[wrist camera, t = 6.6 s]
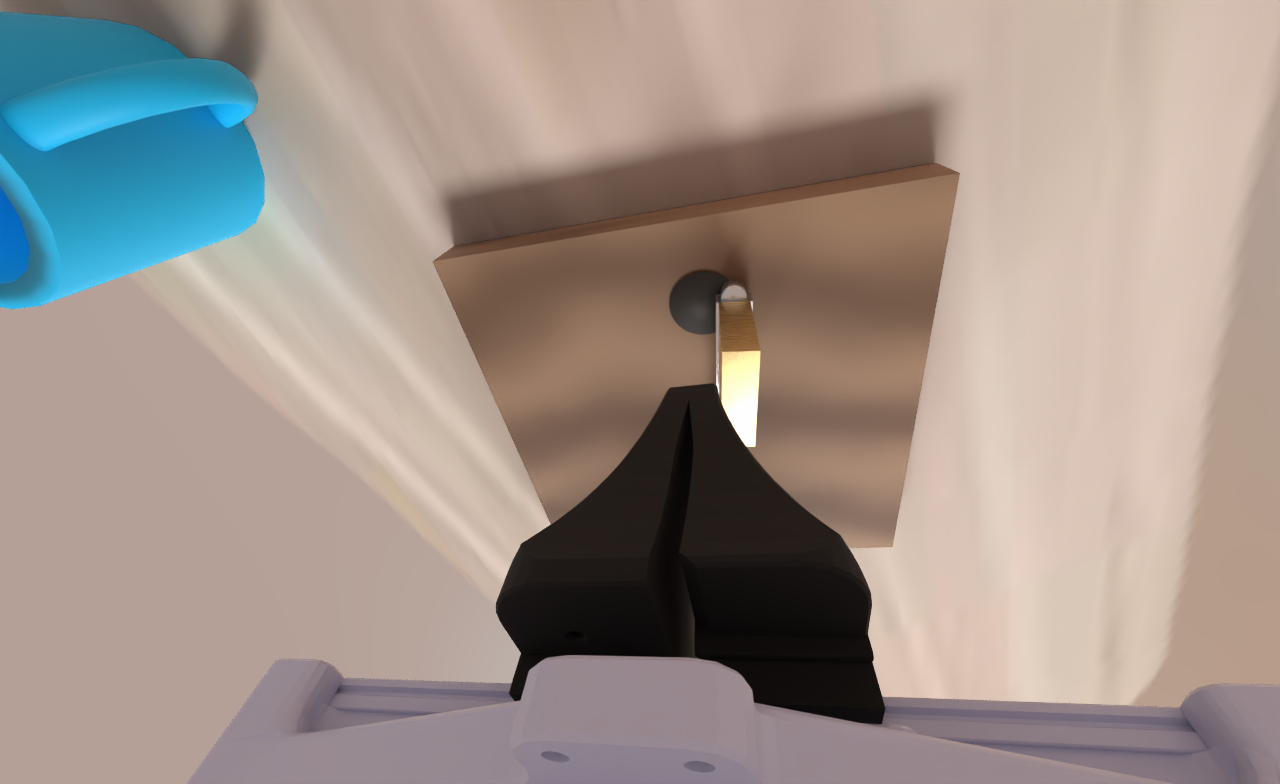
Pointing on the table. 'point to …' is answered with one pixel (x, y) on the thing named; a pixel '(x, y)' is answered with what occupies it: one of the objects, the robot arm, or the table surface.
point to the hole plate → (686, 334)
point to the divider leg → (737, 358)
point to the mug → (114, 154)
